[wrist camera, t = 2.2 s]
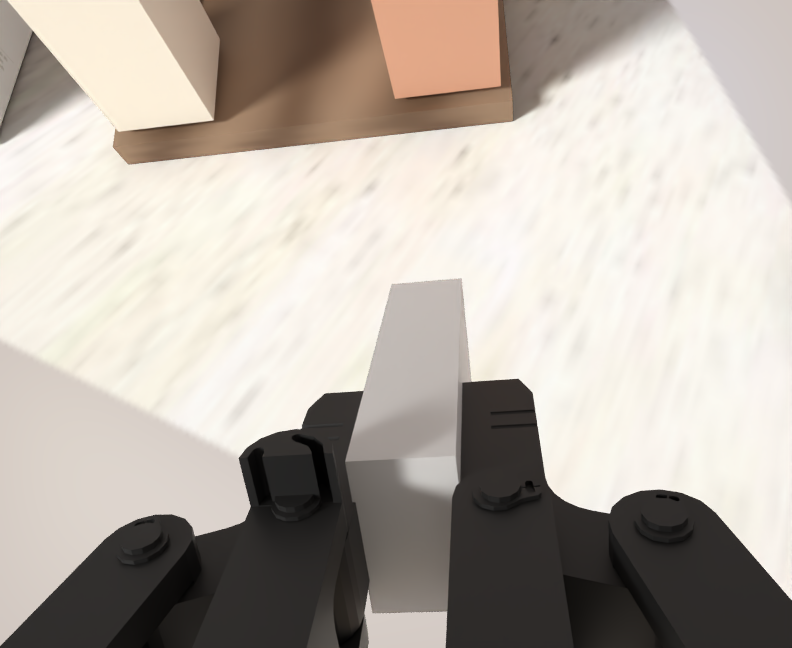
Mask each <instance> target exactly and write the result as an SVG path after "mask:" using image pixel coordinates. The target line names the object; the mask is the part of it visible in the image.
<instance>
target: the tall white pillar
mask: <svg viewBox="0 0 792 648" xmlns="http://www.w3.org/2000/svg"><path fill="white" fill-rule="evenodd" d="M7 1H8V2H9V3H10V4H11V5H12V7H13V8H14V9H15V10H16V11H17V12H18V14H19V15H20V16H21V17H22V18H23V20H24V21H25V22H26V23H27V24H28V25H29V27H30V28H31V29H32V30H33V31H34V33H35V34H36V35H37V36H38V37H39V38H40V40H41V41H42V42H43V43H44V44H45V46H46V47H47V48H48V49H49V50H50V52H51V53H52V54H53V55H54V56H55V57H56V59H57V60H58V61H59V62H60V63H61V65H62V66H63V67H64V68H65V69H66V70H67V72H68V73H69V74H70V75H71V76H72V78H73V79H74V80H75V81H76V82H77V83H78V85H79V86H80V87H81V88H82V89H83V91H84V92H85V93H86V94H87V95H88V96H89V98H90V99H91V100H92V101H93V102H94V104H95V105H96V106H97V107H98V108H99V109H100V111H101V112H102V113H103V114H104V115H105V117H106V118H107V119H108V120H109V121H110V122H111V124H112V125H113V126H114V127H115V128H116V130H117V131H118V132H121V131H129V130H138V129H146V128H154V127H163V126H171V125H180V124H188V123H197V122H205V121H213V120H214V113H215V99H216V86H217V72H218V58H219V45H220V38H219V36H218V35H217V33H216V31H215V29H214V27H213V25H212V23H211V21H210V19H209V17H208V16H207V14H206V12H205V10H204V8H203V6H202V4H201V2H200V0H7Z"/></svg>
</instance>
